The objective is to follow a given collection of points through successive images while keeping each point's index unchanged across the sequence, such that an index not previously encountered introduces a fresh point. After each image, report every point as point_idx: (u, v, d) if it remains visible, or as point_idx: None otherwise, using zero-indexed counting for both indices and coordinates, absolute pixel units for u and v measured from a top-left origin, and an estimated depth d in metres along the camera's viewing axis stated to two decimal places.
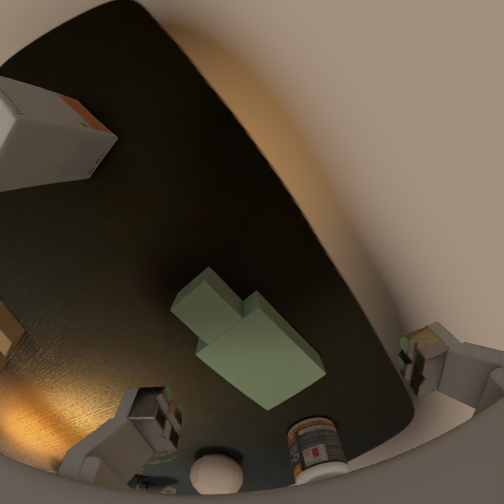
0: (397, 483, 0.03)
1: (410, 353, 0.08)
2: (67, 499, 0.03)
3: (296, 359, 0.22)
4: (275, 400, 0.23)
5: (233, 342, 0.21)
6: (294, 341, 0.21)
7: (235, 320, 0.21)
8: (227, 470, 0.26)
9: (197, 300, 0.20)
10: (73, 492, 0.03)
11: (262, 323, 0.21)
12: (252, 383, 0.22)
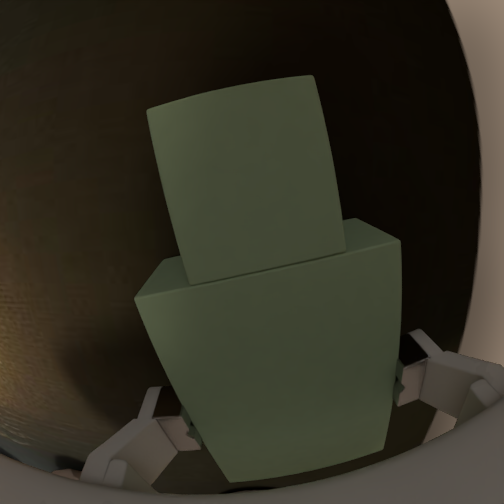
0: (396, 483, 0.03)
1: None
2: (67, 499, 0.03)
3: (369, 411, 0.08)
4: (260, 473, 0.09)
5: (271, 314, 0.07)
6: (395, 370, 0.08)
7: (324, 245, 0.06)
8: None
9: (253, 116, 0.05)
10: (73, 492, 0.03)
11: (379, 292, 0.07)
12: (242, 433, 0.08)
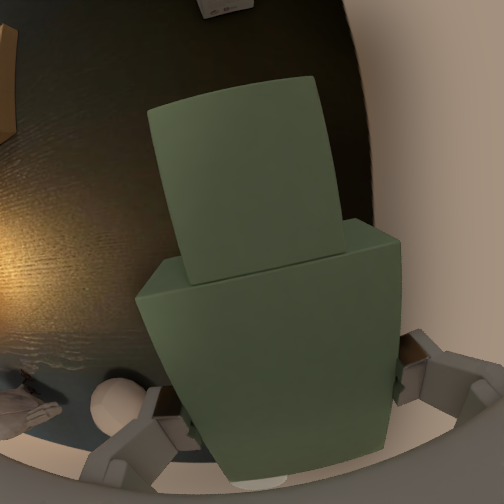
0: (396, 483, 0.03)
1: None
2: (67, 499, 0.03)
3: (369, 411, 0.08)
4: (260, 472, 0.09)
5: (271, 313, 0.07)
6: (394, 370, 0.08)
7: (324, 246, 0.06)
8: None
9: (254, 117, 0.05)
10: (73, 492, 0.03)
11: (379, 292, 0.07)
12: (242, 432, 0.08)
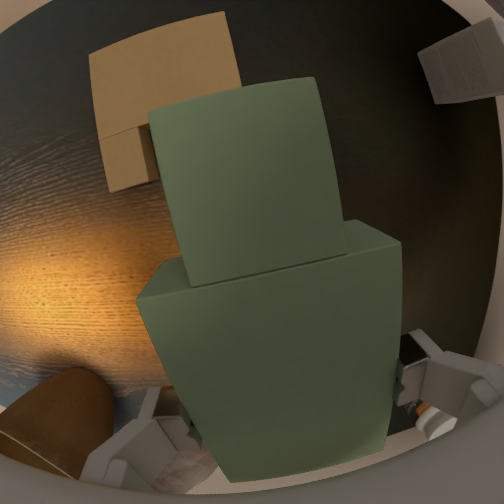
0: (396, 483, 0.03)
1: None
2: (67, 499, 0.03)
3: (370, 412, 0.08)
4: (261, 473, 0.09)
5: (272, 315, 0.07)
6: None
7: (325, 247, 0.06)
8: None
9: (255, 118, 0.05)
10: (73, 492, 0.03)
11: (380, 294, 0.07)
12: (242, 433, 0.08)
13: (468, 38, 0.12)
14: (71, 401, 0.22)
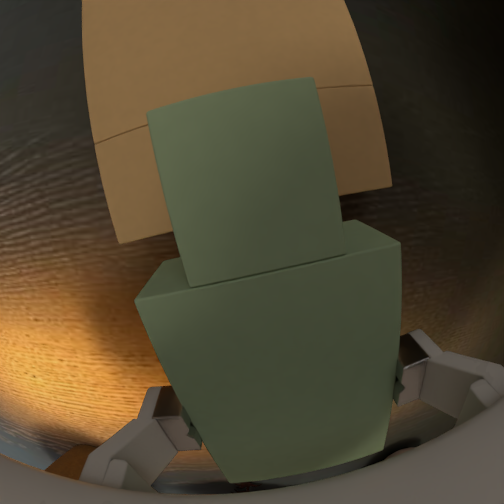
0: (396, 483, 0.03)
1: None
2: (67, 499, 0.03)
3: (369, 412, 0.08)
4: (260, 473, 0.09)
5: (271, 315, 0.07)
6: (394, 372, 0.08)
7: (324, 248, 0.06)
8: None
9: (253, 118, 0.05)
10: (73, 492, 0.03)
11: (379, 294, 0.07)
12: (241, 434, 0.08)
13: None
14: None
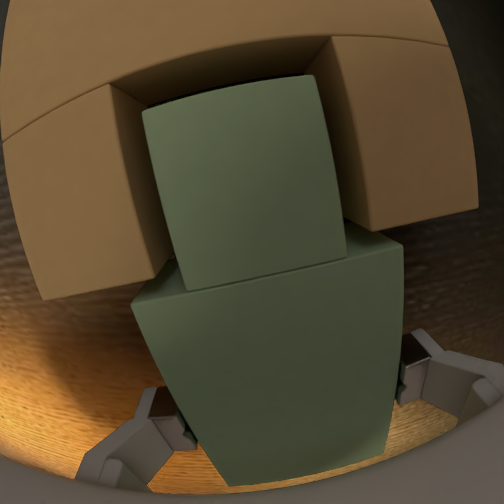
0: (396, 483, 0.03)
1: None
2: (67, 499, 0.03)
3: (369, 416, 0.08)
4: (259, 477, 0.09)
5: (270, 320, 0.06)
6: (395, 376, 0.07)
7: (324, 251, 0.06)
8: None
9: (252, 118, 0.05)
10: (73, 492, 0.03)
11: (381, 298, 0.06)
12: (240, 438, 0.08)
13: None
14: None
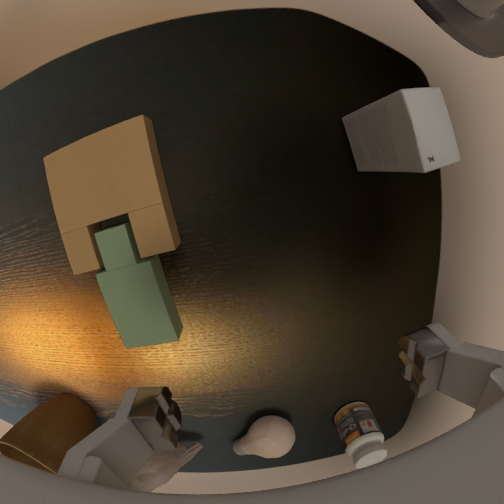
0: (396, 483, 0.03)
1: (410, 353, 0.08)
2: (67, 499, 0.03)
3: (160, 315, 0.28)
4: (134, 342, 0.28)
5: (123, 278, 0.26)
6: (164, 301, 0.28)
7: (131, 262, 0.26)
8: (292, 430, 0.33)
9: (113, 235, 0.25)
10: (73, 492, 0.03)
11: (147, 274, 0.27)
12: (123, 318, 0.28)
13: (381, 111, 0.19)
14: (61, 421, 0.27)
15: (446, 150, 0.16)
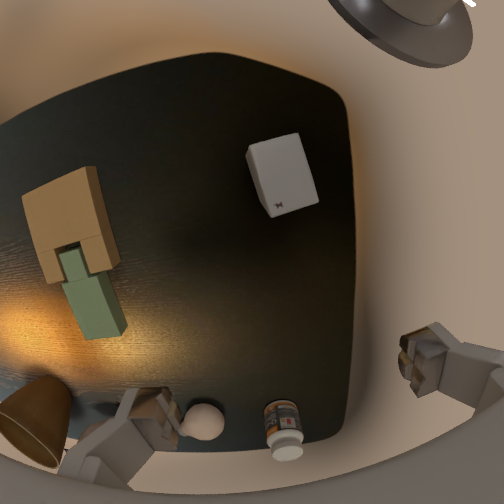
0: (396, 483, 0.03)
1: (410, 353, 0.08)
2: (67, 499, 0.03)
3: (106, 316, 0.34)
4: (91, 335, 0.35)
5: (80, 287, 0.33)
6: (108, 305, 0.34)
7: (84, 276, 0.33)
8: (219, 418, 0.39)
9: (71, 256, 0.32)
10: (73, 492, 0.03)
11: (95, 285, 0.33)
12: (82, 317, 0.34)
13: (249, 159, 0.25)
14: (41, 396, 0.34)
15: (299, 195, 0.22)
